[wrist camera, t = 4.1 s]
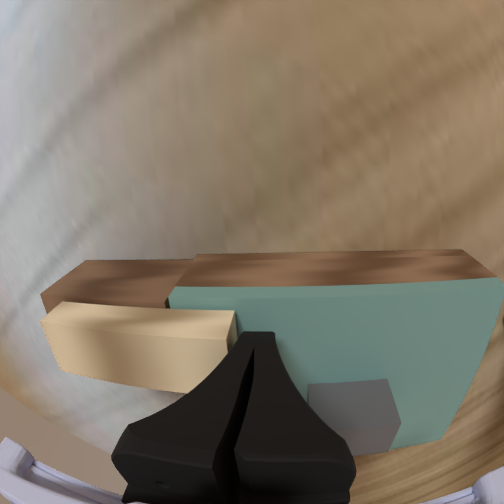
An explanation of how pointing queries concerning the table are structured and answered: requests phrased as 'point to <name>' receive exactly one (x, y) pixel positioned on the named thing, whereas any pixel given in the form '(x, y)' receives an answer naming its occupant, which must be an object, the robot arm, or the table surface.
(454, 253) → the wooden tray
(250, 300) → the lid
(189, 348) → the tan wooden block
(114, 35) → the table surface
